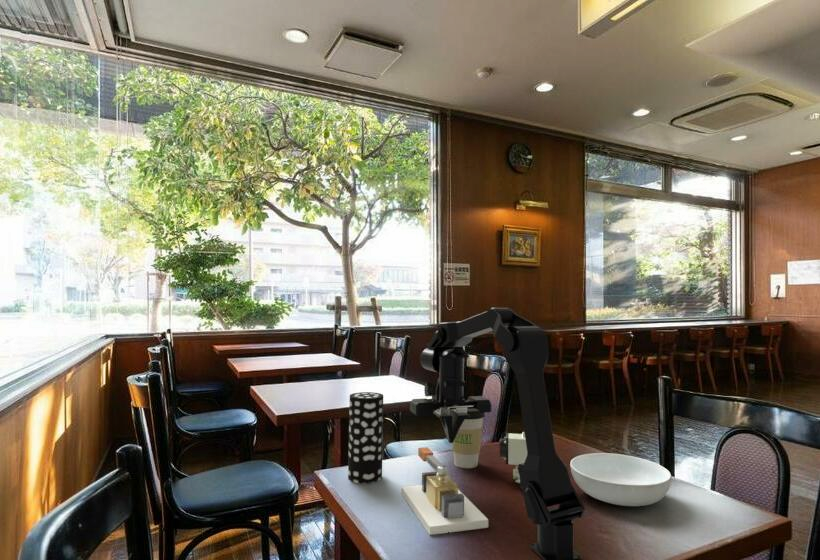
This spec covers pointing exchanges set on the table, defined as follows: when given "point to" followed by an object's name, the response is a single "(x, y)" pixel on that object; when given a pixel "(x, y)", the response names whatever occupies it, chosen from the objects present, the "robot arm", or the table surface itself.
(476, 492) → the table surface
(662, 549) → the table surface
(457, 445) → the coffee cup
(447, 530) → the base plate
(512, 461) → the pneumatic valve
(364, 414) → the spotted tube
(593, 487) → the serving bowl
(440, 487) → the valve pipe run
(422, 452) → the valve lever
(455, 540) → the table surface
